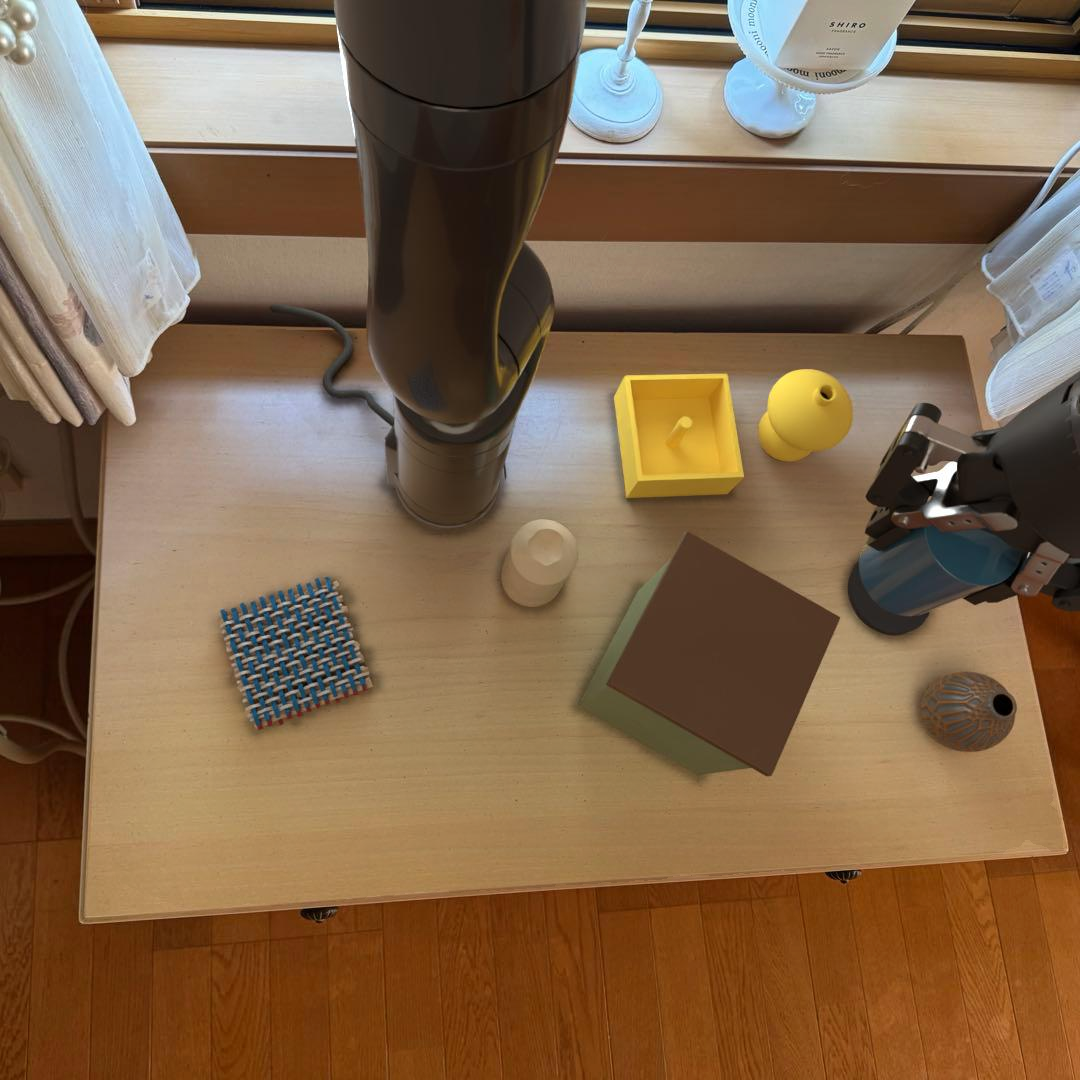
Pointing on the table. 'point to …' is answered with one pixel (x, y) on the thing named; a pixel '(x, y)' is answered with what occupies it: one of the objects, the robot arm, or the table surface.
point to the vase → (968, 711)
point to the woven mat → (293, 653)
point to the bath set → (718, 429)
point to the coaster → (879, 610)
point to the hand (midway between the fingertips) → (924, 559)
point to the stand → (711, 662)
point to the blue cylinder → (934, 568)
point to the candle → (538, 562)
